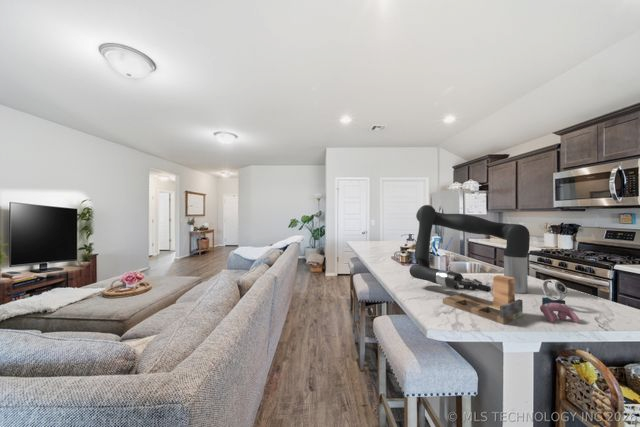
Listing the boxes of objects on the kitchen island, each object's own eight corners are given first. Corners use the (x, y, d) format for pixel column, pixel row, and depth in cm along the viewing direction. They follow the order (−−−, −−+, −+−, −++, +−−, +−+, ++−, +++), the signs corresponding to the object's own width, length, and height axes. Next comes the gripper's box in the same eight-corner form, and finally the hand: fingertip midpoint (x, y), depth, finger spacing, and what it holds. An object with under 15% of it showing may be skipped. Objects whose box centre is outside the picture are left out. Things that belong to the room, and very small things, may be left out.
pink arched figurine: (571, 323, 88) (563, 303, 92) (582, 323, 84) (573, 301, 87) (542, 323, 89) (535, 303, 92) (552, 322, 85) (544, 301, 88)
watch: (558, 310, 96) (558, 283, 96) (538, 303, 104) (537, 277, 104) (571, 310, 97) (570, 282, 97) (549, 302, 105) (549, 277, 105)
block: (500, 305, 97) (499, 275, 97) (514, 309, 93) (514, 277, 93) (493, 307, 95) (493, 276, 95) (508, 311, 90) (507, 279, 90)
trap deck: (462, 297, 112) (462, 284, 112) (522, 315, 92) (522, 300, 92) (442, 303, 105) (442, 289, 105) (503, 324, 85) (503, 307, 85)
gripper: (440, 273, 110) (480, 282, 95) (457, 269, 117) (498, 278, 101) (440, 289, 110) (480, 301, 95) (457, 285, 117) (498, 295, 101)
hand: (489, 289), depth 98 cm, fingers closed
